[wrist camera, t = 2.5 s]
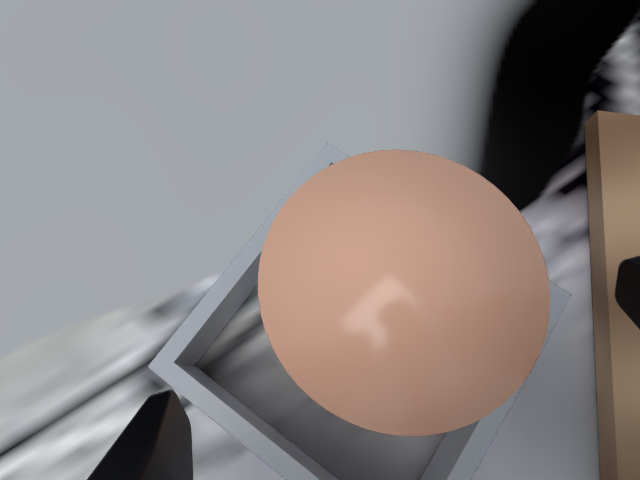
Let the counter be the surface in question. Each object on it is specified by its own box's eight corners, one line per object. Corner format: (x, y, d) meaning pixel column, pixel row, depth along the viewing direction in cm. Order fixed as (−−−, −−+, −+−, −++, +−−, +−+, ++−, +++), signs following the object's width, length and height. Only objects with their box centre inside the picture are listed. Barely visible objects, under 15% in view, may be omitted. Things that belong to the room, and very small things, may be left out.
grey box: (537, 306, 17) (571, 294, 15) (399, 552, 15) (413, 584, 12) (327, 172, 19) (327, 142, 17) (172, 369, 17) (147, 366, 14)
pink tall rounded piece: (417, 416, 16) (552, 461, 7) (284, 394, 16) (230, 408, 7) (427, 284, 18) (548, 168, 8) (305, 266, 18) (285, 134, 8)
